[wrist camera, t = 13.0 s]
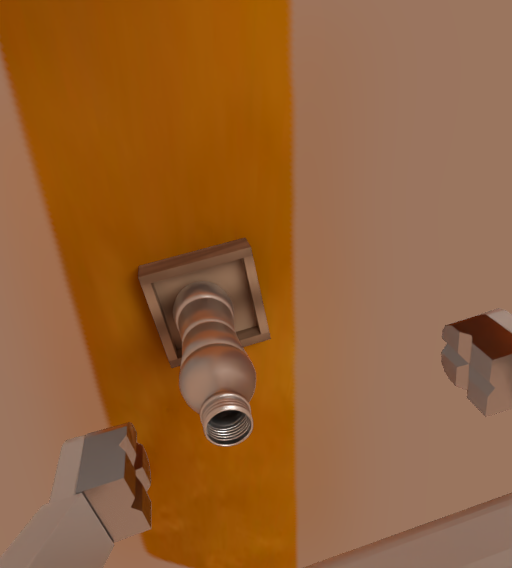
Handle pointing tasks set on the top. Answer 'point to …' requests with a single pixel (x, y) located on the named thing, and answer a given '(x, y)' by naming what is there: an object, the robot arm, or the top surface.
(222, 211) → the top surface
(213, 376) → the silver metal bottle
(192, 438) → the top surface
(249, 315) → the walnut tray
